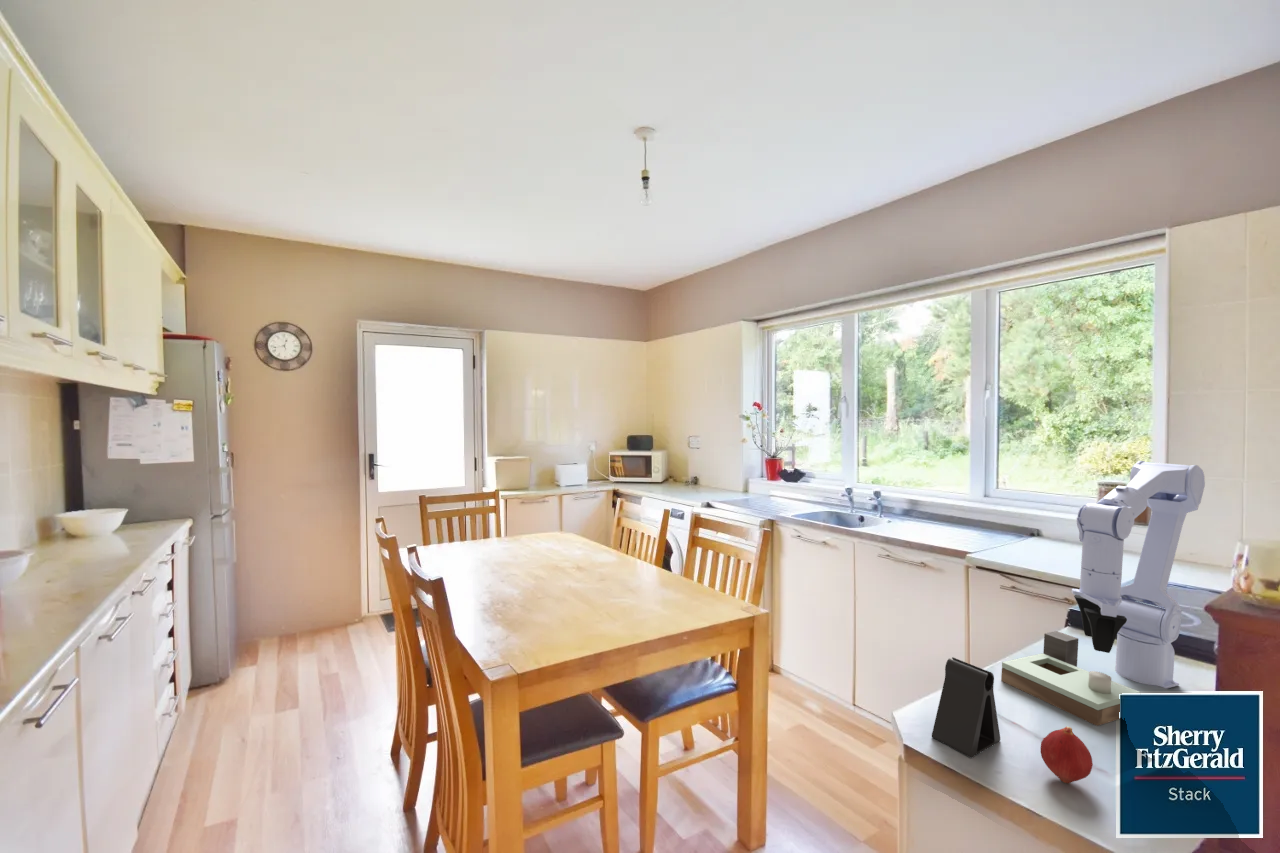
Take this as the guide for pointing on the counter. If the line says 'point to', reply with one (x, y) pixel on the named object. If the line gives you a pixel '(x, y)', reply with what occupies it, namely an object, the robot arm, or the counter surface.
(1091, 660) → the counter surface
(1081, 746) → the onion
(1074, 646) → the block
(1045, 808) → the counter surface
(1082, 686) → the lid
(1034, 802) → the counter surface
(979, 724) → the phone stand
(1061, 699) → the brown box
